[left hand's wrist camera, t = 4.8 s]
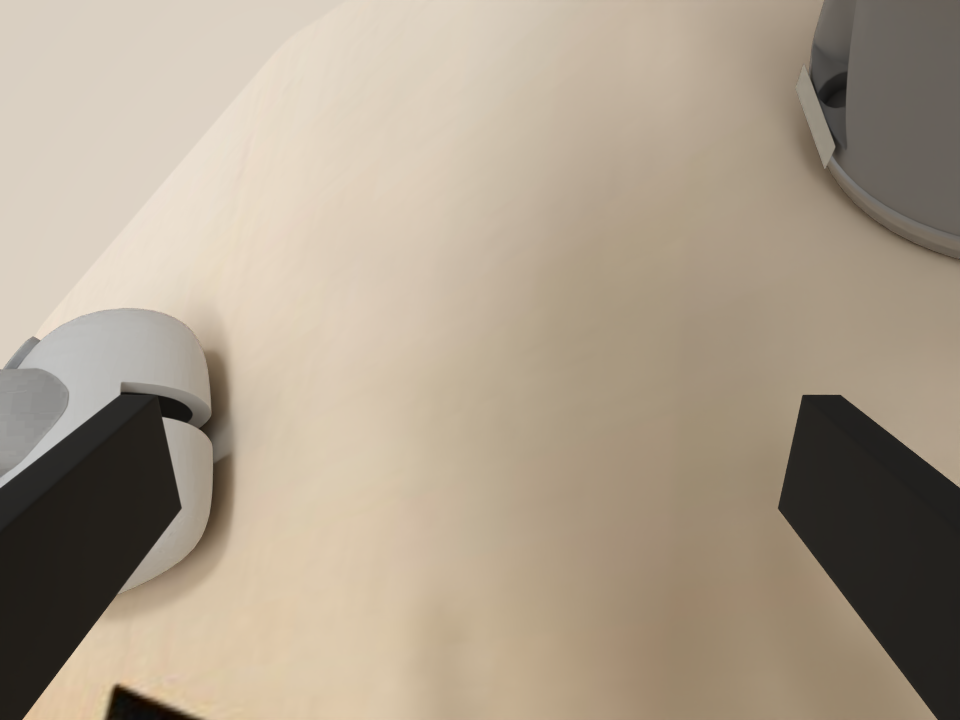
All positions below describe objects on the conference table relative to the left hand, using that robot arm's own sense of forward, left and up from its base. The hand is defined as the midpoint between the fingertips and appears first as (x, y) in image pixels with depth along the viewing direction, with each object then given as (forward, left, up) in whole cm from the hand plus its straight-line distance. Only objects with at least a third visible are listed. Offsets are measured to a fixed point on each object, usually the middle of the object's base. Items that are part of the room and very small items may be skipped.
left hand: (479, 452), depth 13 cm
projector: (+23, -29, -12) cm, 39 cm away
